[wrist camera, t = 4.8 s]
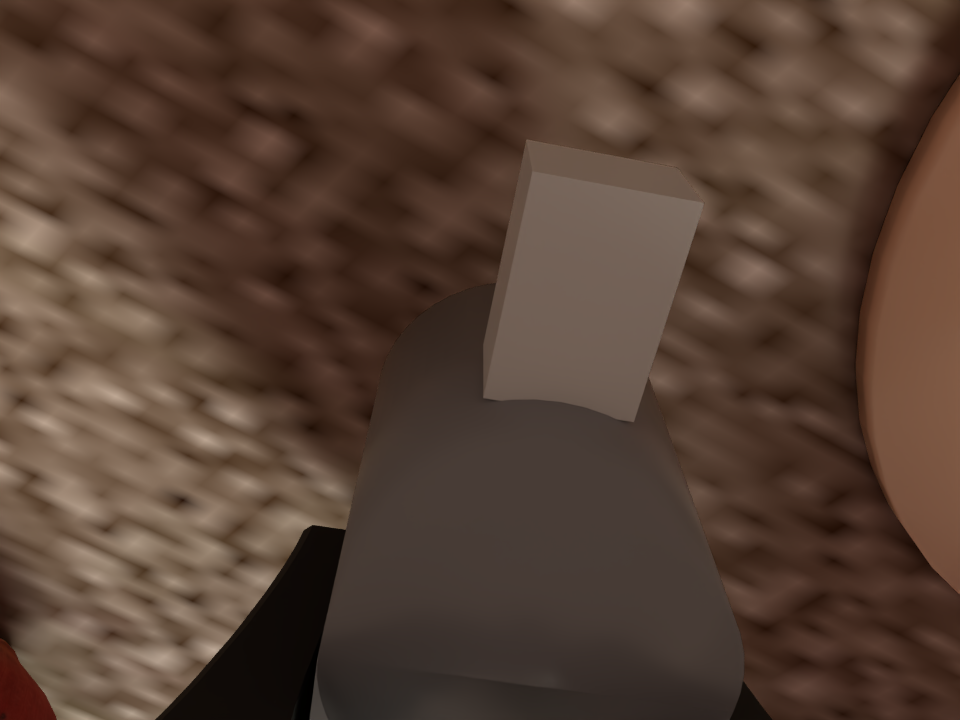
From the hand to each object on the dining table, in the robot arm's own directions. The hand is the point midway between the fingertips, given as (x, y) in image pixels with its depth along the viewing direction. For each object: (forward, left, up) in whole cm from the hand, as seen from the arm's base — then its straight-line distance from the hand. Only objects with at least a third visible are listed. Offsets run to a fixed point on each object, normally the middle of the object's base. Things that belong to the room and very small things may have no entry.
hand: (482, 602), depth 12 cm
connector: (+1, 0, -1) cm, 2 cm away
